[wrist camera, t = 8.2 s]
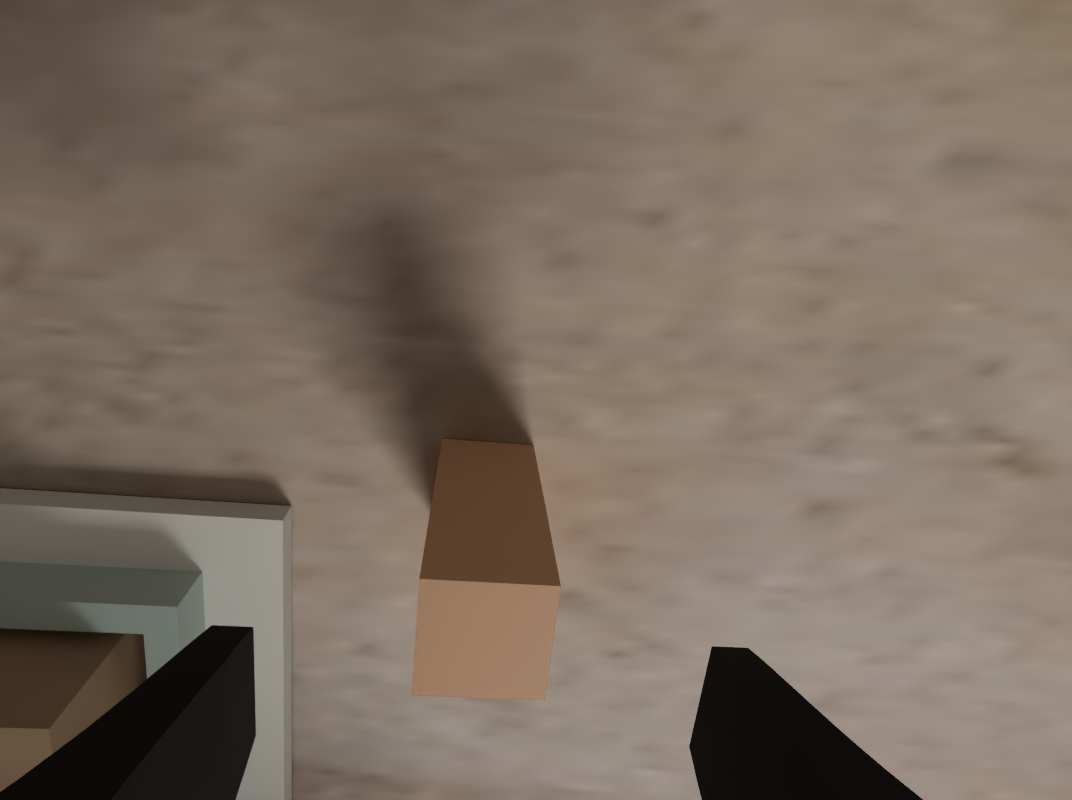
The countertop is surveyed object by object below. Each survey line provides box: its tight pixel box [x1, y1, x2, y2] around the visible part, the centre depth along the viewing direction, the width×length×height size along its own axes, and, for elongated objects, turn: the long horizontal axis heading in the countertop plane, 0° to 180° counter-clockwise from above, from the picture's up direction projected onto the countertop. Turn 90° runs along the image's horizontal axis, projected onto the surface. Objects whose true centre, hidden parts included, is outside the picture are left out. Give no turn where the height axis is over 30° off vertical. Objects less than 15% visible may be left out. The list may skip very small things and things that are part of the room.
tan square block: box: [412, 439, 561, 700], centre depth 15 cm, size 2×2×6 cm
